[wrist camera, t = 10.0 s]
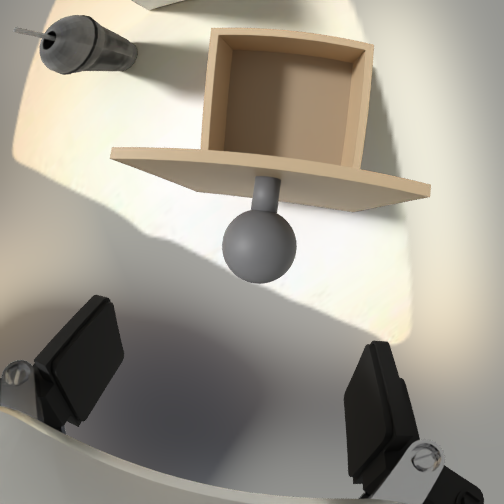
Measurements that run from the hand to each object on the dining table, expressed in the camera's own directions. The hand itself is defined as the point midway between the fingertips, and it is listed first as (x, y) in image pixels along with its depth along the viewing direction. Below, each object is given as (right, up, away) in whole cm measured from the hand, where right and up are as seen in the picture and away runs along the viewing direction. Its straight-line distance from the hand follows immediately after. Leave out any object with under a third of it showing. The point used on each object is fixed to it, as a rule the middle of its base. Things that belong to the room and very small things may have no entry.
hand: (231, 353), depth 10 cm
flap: (+2, +9, +11) cm, 14 cm away
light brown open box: (+5, +20, +23) cm, 31 cm away
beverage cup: (-17, +31, +22) cm, 42 cm away
